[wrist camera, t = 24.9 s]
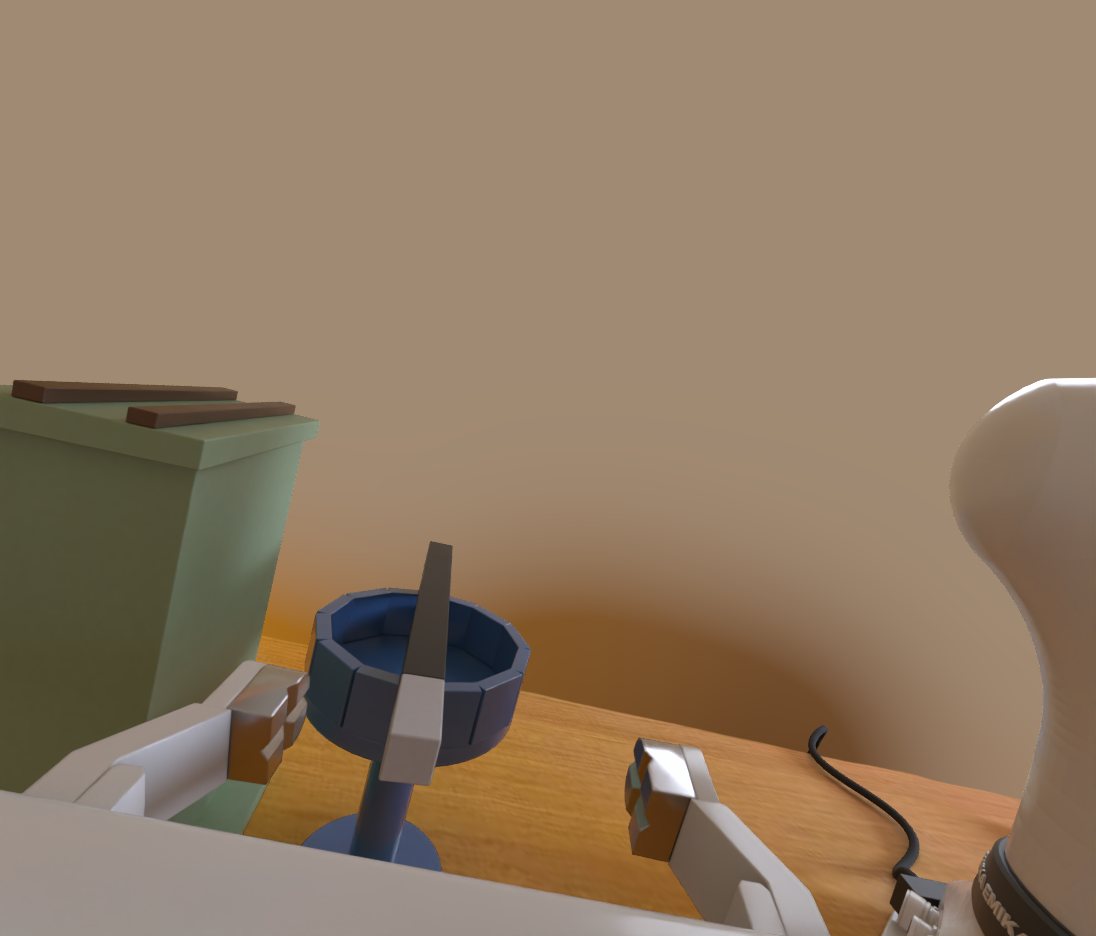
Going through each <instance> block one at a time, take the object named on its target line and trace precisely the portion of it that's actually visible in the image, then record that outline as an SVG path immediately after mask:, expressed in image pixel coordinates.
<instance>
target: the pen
mask: <svg viewBox="0 0 1096 936" xmlns="http://www.w3.org/2000/svg"><path fill="white" fill-rule="evenodd" d="M451 565H452V546H451V545H446V544H441V543H436V542H432V541H431V542H430V544H429V549H428V553H427V557H426V561H425V565H424V570H423V574H422V580H421V584H420V588H419V593H418V598H417V602H416V607H415V611H414V616H413V621H412V625H411V630H410V634H409V639H408V644H407V648H406V653H405V658H404V662H403V667H402V671H401V676H400V681H399V685H398V690H397V695H396V699H395V704H394V708H393V713H392V718H391V722H390V727H389V732H388V736H387V741H386V745H385V750H384V755H383V759H382V764H381V769H380V773H379V780H381V781H390V782H399V783H407V784H416V785H424V786H429V785H430V783H431V779H432V775H433V772H434V768H435V764H436V760H437V756H438V752H439V748H440V744H441V738H442V720H443V703H444V686H445V670H446V653H447V635H448V618H449V600H450V583H451Z"/></svg>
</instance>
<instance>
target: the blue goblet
mask: <svg viewBox="0 0 1096 936" xmlns="http://www.w3.org/2000/svg"><path fill="white" fill-rule="evenodd" d="M418 593H419V590H409V589H398V588H388V589H386V588H381V589H375V590H368V591H362V592H354V593H347V594H346V595H342V596H340V597H339V598H337V599H335V600H334V601H332V602H331V603H329V604H328V605H326V606H325V607H323V608H322V609H320V610H318V612H317V613H316V615H315V619H314V624H313V628H312V633H311V637H310V641H309V646H308V650H307V654H306V659H305V669H304V672H307V673H309V675H310V687H309V689H308V690H307V692H306V693H305V695H304V698H305V700H306V701H307V703H308V706H307V713H306V716H307V718H308V720H309V722H310V723H311V724H312V725H313V726H314V727H315V729H316V730H317V731H318V732H319V733H321V734H322V735H323V736H324V737H325V738H326V739H328V740H329V741H331V742H332V743H334V744H335V745H337V746H338V747H340V748H342V749H344V750H346V751H348V752H350V753H352V754H355V755H358V756H360V757H363V758H366V759H369V760H371V762H370V766H369V770H368V774H367V778H366V782H365V786H364V790H363V795H362V799H361V803H360V807H359V811H358V814H352V815H348V816H344V817H342V818H339V819H336V820H334V821H332V822H330V823H328V824H326V825H324V826H323V827H321V828H319V829H318V830H317V831H315V832H314V833H313V834H312V835H311V836H310V837H309V838H307V839H306V840H305V842H304V843H303V844H302V845H301V846H304V847H310V848H315V849H320V850H326V851H331V852H336V853H342V854H347V855H352V856H358V857H363V858H369V859H374V860H380V861H385V862H390V863H396V864H401V865H407V866H412V867H417V868H423V869H428V870H434V871H439V872H442V869H441V863H440V859H439V856H438V853H437V851H436V849H435V847H434V845H433V844H432V842H431V841H430V839H429V838H428V837H427V836H426V835H425V834H424V833H423V832H422V831H421V830H420V829H419V828H417V827H416V826H414V825H413V824H411V823H410V822H408V821H406V820H405V819H406V815H407V811H408V807H409V803H410V799H411V795H412V791H413V787H414V784H407V783H399V782H390V781H381V780H379V773H380V769H381V764H382V759H383V755H384V750H385V745H386V741H387V736H388V732H389V727H390V722H391V718H392V713H393V708H394V704H395V699H396V695H397V690H398V685H399V681H400V676H401V671H402V667H403V662H404V658H405V653H406V648H407V644H408V639H409V634H410V630H411V625H412V621H413V616H414V611H415V607H416V602H417V598H418ZM530 653H531V651H530V647H529V646H528V645H527V643H526V642H525V641H524V639H523V638H522V637H521V635H520V634H519V632H518V631H517V630H516V628H515V627H514V626H511V623H509V622H507V621H505V620H504V619H502V618H500V617H498V616H496V615H495V614H493V613H491V612H490V611H488V610H486V609H484V608H483V607H481V606H476V604H474V603H471V602H467V601H464V600H461V599H457V598H454V597H451V596H450V600H449V618H448V635H447V653H446V670H445V686H444V703H443V720H442V738H441V744H440V748H439V752H438V756H437V760H436V764H435V767H440V766H449V765H453V764H458V763H463V762H466V761H469V760H471V759H474V758H477V757H479V756H481V755H483V754H485V753H487V752H488V751H490V750H491V749H492V748H494V747H495V746H496V745H497V744H498V743H499V742H500V741H501V740H502V739H503V738H504V737H505V735H506V734H507V732H508V730H509V728H510V725H511V723H512V719H513V715H514V711H515V708H516V704H517V701H518V697H519V694H520V690H521V686H522V683H523V679H524V675H525V672H526V668H527V664H528V661H529V657H530Z"/></svg>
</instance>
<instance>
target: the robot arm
mask: <svg viewBox="0 0 1096 936" xmlns="http://www.w3.org/2000/svg"><path fill="white" fill-rule="evenodd" d="M949 487H950V488H949V489H950V501H951V505H952V510H953V514H954V517H955V520H956V522H957V525H958V527H959V529H960V531H961V533H962V535H963V536H964V538H965V540H966V541H967V543H968V544H969V545H970V547H971V548H972V549H973V551H974V552H975V553H976V554H977V555H978V556H979V557H980V558H981V559H982V560H983V562H984V563H985V564H986V565H987V566H988V567H989V568H990V569H991V570H992V571H993V573H994V574H995V575H996V576H997V578H998V579H999V580H1000V581H1001V582H1002V583H1003V585H1004V586H1005V588H1006V589H1007V590H1008V592H1009V594H1010V595H1011V597H1012V599H1013V600H1014V602H1015V603H1016V605H1017V607H1018V609H1019V611H1020V613H1021V614H1022V616H1023V618H1024V620H1025V622H1026V624H1027V627H1028V630H1029V632H1030V635H1031V637H1032V640H1033V643H1034V646H1035V649H1036V653H1037V657H1038V661H1039V664H1040V671H1041V677H1042V684H1043V714H1042V722H1041V728H1040V733H1039V737H1038V741H1037V745H1036V749H1035V754H1034V758H1033V762H1032V765H1031V769H1030V772H1029V776H1028V779H1027V783H1026V786H1025V789H1024V792H1023V795H1022V799H1021V802H1020V805H1019V808H1018V811H1017V814H1016V816H1015V819H1014V822H1013V825H1012V828H1011V831H1010V833H1009V836H1006V837H1002V838H1000V839H998V840H997V841H996V842H995V844H994V845H993V847H992V849H991V850H989V851H988V852H987V853H986V854H985V856H984V857H983V859H982V861H981V863H980V866H979V869H978V870H979V871H978V874H977V875H976V877H975V879H974V881H965V880H952V881H949V882H947V883H942V882H938V881H933V880H928V879H923V878H919V877H918V876H917V875H916V874H915V873H913V872H912V871H911V870H910V869H909V868H910V867H911V866H912V864H913V863H914V862H915V860H916V859H917V856H918V854H919V841H918V838H917V835H916V833H915V832H914V830H913V829H912V827H911V826H910V825H909V824H908V822H907V821H906V820H905V819H904V818H903V817H902V816H901V815H900V814H899V813H898V812H897V811H896V810H894V809H893V808H892V807H891V806H889V805H888V804H887V803H885V802H884V801H883V800H881V799H880V798H878V797H877V796H875V795H874V794H872V793H871V792H869V791H868V790H866V789H865V788H863V787H862V786H860V785H858V784H857V783H855V782H854V781H852V780H851V779H849V778H848V777H846V776H844V775H843V774H841V773H840V772H839V771H837V770H836V769H834V768H833V767H832V766H830V765H829V764H828V763H827V762H826V761H825V760H823V759H822V758H821V756H820V755H819V754H818V752H817V751H816V750H817V748H818V746H819V745H820V742H821V741H822V739H823V738H824V736H825V735H826V733H827V732H828V728H827V727H826V726H824V725H822V726H820V727H819V728H817V729H816V730H815V731H814V732H813V733H812V735H811V736H810V739H809V743H808V747H809V750H808V752H807V753H809V754H811V755H812V757H813V758H814V759H815V761H816V762H817V763H818V764H819V765H820V766H821V767H822V768H823V769H825V770H826V771H827V772H828V773H830V774H831V775H832V776H834V777H835V778H836V779H838V780H839V781H841V782H842V783H844V784H845V785H847V786H848V787H850V788H851V789H853V790H854V791H856V792H857V793H859V794H861V795H862V796H864V797H865V798H867V799H868V800H870V801H871V802H873V803H874V804H876V805H877V806H878V807H880V808H881V809H882V810H884V811H885V812H886V813H888V814H889V815H890V816H891V817H892V818H893V819H894V820H896V821H897V822H898V823H899V824H900V826H901V827H902V828H903V829H904V831H905V832H906V834H907V836H908V839H909V848H908V851H907V852H906V854H905V855H904V857H903V858H902V859H901V860H900V861H899V862H898V863H897V864H896V865H895V866H894V868H893V876H894V878H895V879H896V880H897V883H896V886H895V889H894V892H893V895H892V897H891V900H890V904H891V906H892V907H893V908H894V911H893V913H892V914H891V916H890V918H889V920H888V922H887V924H886V926H885V928H884V930H883V932H882V934H881V936H1096V378H1086V379H1085V378H1083V379H1082V378H1081V379H1045V380H1041V381H1038V382H1036V383H1034V384H1032V385H1029V386H1027V387H1025V388H1023V389H1021V390H1019V391H1018V392H1016V393H1014V394H1013V395H1011V396H1009V397H1007V398H1006V399H1004V400H1003V401H1001V402H1000V403H998V404H997V405H996V406H994V407H993V408H992V409H991V410H990V411H988V412H987V413H986V414H985V415H984V416H983V417H982V418H981V419H980V420H979V421H978V422H977V423H976V424H975V425H974V426H973V428H972V429H971V430H970V431H969V433H968V434H967V436H966V437H965V439H964V440H963V442H962V443H961V445H960V447H959V449H958V451H957V454H956V456H955V459H954V462H953V465H952V469H951V475H950V484H949ZM309 687H310V675H309V673H307V672H302V671H298V670H293V669H289V668H284V667H280V666H275V665H271V664H265V663H260V662H255V661H251V660H247V661H245V662H243V663H241V664H240V665H239V666H238V667H237V668H236V669H235V670H234V671H233V672H232V673H231V674H230V675H229V676H228V677H227V678H226V679H225V680H224V681H223V682H222V683H221V684H220V685H219V686H218V687H217V688H216V689H215V690H214V691H213V692H212V693H211V694H210V695H209V696H208V697H207V699H206V700H205V701H204V702H203V703H202V704H198V703H193V704H191V705H188V706H186V707H183V708H181V709H178V710H175V711H173V712H170V713H168V714H165V715H163V716H160V717H158V718H155V719H153V720H150V721H148V722H145V723H143V724H140V725H137V726H135V727H132V728H130V729H127V730H125V731H122V732H120V733H117V734H115V735H112V736H110V737H107V738H105V739H102V740H99V741H97V742H94V743H92V744H89V745H87V746H84V747H82V748H79V749H77V750H74V751H72V752H71V753H69V754H68V755H67V756H66V757H65V758H63V759H62V760H61V761H60V762H59V763H57V764H56V765H55V766H54V767H53V768H51V769H50V770H49V771H48V772H47V773H45V774H44V775H43V776H42V777H41V778H40V779H38V780H37V781H36V782H35V783H34V784H32V785H31V786H30V787H29V788H28V789H26V790H25V791H24V792H23V793H22V794H20V793H15V792H10V791H4V790H0V936H830V934H829V931H828V929H827V927H826V925H825V923H824V920H823V918H822V916H821V914H820V911H819V909H818V907H817V905H816V903H815V900H814V898H813V896H812V894H811V892H810V891H809V890H808V889H807V888H806V887H805V885H804V884H803V883H802V882H801V881H800V880H799V879H798V878H797V877H796V876H795V875H794V874H793V873H792V872H791V871H790V870H789V869H788V868H787V867H786V866H785V865H784V864H783V863H782V862H781V861H780V860H779V859H778V858H777V857H776V856H775V855H774V854H773V853H772V852H771V851H770V850H769V849H768V848H767V847H766V846H765V845H764V844H763V843H762V842H761V841H760V840H759V838H758V837H757V836H756V835H755V834H754V833H753V832H752V831H751V830H750V829H749V828H748V827H747V826H746V825H745V824H744V823H743V822H742V821H741V820H740V819H739V818H738V817H737V816H736V815H735V814H734V813H733V812H732V811H731V810H730V809H729V808H728V807H727V806H726V805H723V804H720V803H719V800H718V797H717V794H716V791H715V788H714V785H713V783H712V780H711V777H710V774H709V771H708V768H707V765H706V763H705V760H704V757H703V754H702V751H701V750H700V749H699V748H697V747H691V746H685V745H676V744H671V743H666V742H660V741H655V740H650V739H644V738H638V740H637V742H636V744H635V748H634V756H635V762H633V763H632V764H631V765H629V768H628V772H627V775H626V781H625V806H626V810H627V812H628V813H629V814H630V816H631V820H630V823H629V827H628V828H629V835H630V842H631V849H632V855H637V856H641V857H646V858H650V859H655V860H659V861H664V862H668V863H669V864H668V865H669V866H670V868H671V869H672V871H673V872H674V874H675V875H676V877H677V879H678V880H679V882H680V883H681V885H682V886H683V888H684V890H685V891H686V893H687V894H688V896H689V897H690V899H691V900H692V902H693V904H694V905H695V907H696V908H697V910H698V911H699V913H700V914H701V916H702V918H703V919H704V921H703V920H697V919H692V918H686V917H681V916H676V915H670V914H665V913H659V912H654V911H648V910H643V909H637V908H632V907H626V906H621V905H615V904H610V903H605V902H599V901H594V900H589V899H584V898H578V897H573V896H568V895H562V894H557V893H552V892H546V891H541V890H536V889H530V888H525V887H520V886H514V885H509V884H504V883H498V882H493V881H488V880H482V879H477V878H472V877H466V876H461V875H455V874H450V873H445V872H439V871H434V870H428V869H423V868H417V867H412V866H407V865H401V864H396V863H390V862H385V861H380V860H374V859H369V858H363V857H358V856H352V855H347V854H342V853H336V852H331V851H326V850H320V849H315V848H310V847H304V846H299V845H293V844H288V843H283V842H277V841H272V840H267V839H261V838H256V837H251V836H245V835H240V834H234V833H229V832H224V831H218V830H213V829H208V828H202V827H197V826H192V825H186V824H181V823H175V822H170V821H166V820H168V819H169V818H171V817H173V816H174V815H176V814H177V813H179V812H180V811H182V810H183V809H185V808H186V807H188V806H189V805H191V804H193V803H194V802H196V801H197V800H199V799H200V798H202V797H203V796H205V795H206V794H208V793H209V792H211V791H213V790H214V789H216V788H217V787H219V786H220V785H222V784H223V783H225V782H226V781H227V779H230V780H236V781H242V782H249V783H255V784H261V785H266V784H267V783H268V781H269V780H270V778H271V777H272V775H273V774H274V772H275V771H276V769H277V768H278V766H279V765H280V763H281V762H282V755H283V750H285V749H287V748H289V747H291V746H292V745H293V743H294V742H295V740H296V739H297V737H298V735H299V733H300V731H301V729H302V726H303V724H304V721H305V717H306V713H307V706H308V703H307V701H306V700H305V698H304V695H305V693H306V692H307V690H308V689H309Z"/></svg>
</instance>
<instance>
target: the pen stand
mask: <svg viewBox="0 0 1096 936" xmlns="http://www.w3.org/2000/svg"><path fill="white" fill-rule="evenodd" d="M237 393H238V392H237V391H234V390H230V389H226V388H221V387H192V386H165V385H138V384H110V383H81V382H54V381H27V380H26V381H25V380H14V382H13V385H12V386H11V385H0V790H4V791H10V792H15V793H20V794H22V793H23V792H24V791H25V790H26V789H28V788H29V787H30V786H31V785H32V784H34V783H35V782H36V781H37V780H38V779H40V778H41V777H42V776H43V775H44V774H45V773H47V772H48V771H49V770H50V769H51V768H53V767H54V766H55V765H56V764H57V763H59V762H60V761H61V760H62V759H63V758H65V757H66V756H67V755H68V754H69V753H71V752H72V751H74V750H77V749H79V748H82V747H84V746H87V745H89V744H92V743H94V742H97V741H99V740H102V739H105V738H107V737H110V736H112V735H115V734H117V733H120V732H122V731H125V730H127V729H130V728H132V727H135V726H137V725H140V724H143V723H145V722H148V721H150V720H153V719H155V718H158V717H160V716H163V715H165V714H168V713H170V712H173V711H175V710H178V709H181V708H183V707H186V706H188V705H191V704H193V703H198V704H202V703H203V702H204V701H205V700H206V699H207V697H208V696H209V695H210V694H211V693H212V692H213V691H214V690H215V689H216V688H217V687H218V686H219V685H220V684H221V683H222V682H223V681H224V680H225V679H226V678H227V677H228V676H229V675H230V674H231V673H232V672H233V671H234V670H235V669H236V668H237V667H238V666H239V665H240V664H241V663H243V662H245V661H247V660H251V661H256V656H257V652H258V647H259V643H260V638H261V633H262V629H263V624H264V620H265V615H266V610H267V606H268V601H269V597H270V592H271V587H272V583H273V578H274V574H275V569H276V565H277V560H278V555H279V551H280V546H281V542H282V537H283V532H284V528H285V523H286V518H287V514H288V509H289V504H290V500H291V496H292V491H293V487H294V482H295V478H296V473H297V468H298V464H299V459H300V454H301V450H302V445H303V441H306V440H309V439H313V438H316V437H317V433H318V428H319V424H320V421H319V420H315V419H311V418H307V417H303V416H299V415H294V411H295V405H291V404H287V403H283V402H261V403H245V402H241V401H236V398H237ZM270 779H271V778H270ZM269 781H270V780H269ZM269 781H268V783H269ZM268 783H267V784H266V785H261V784H255V783H249V782H242V781H236V780H230V779H227V781H226V782H225V783H223V784H222V785H220V786H219V787H217V788H216V789H214V790H213V791H211V792H209V793H208V794H206V795H205V796H203V797H202V798H200V799H199V800H197V801H196V802H194V803H193V804H191V805H189V806H188V807H186V808H185V809H183V810H182V811H180V812H179V813H177V814H176V815H174V816H173V817H171V818H169V819H168V820H166V821H170V822H175V823H181V824H186V825H192V826H197V827H202V828H208V829H213V830H218V831H224V832H229V833H234V834H240V835H242V834H243V832H244V830H245V828H246V826H247V824H248V822H249V820H250V818H251V816H252V814H253V812H254V810H255V808H256V807H257V805H258V803H259V801H260V799H261V797H262V795H263V793H264V791H265V789H266V787H267V785H268Z"/></svg>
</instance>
